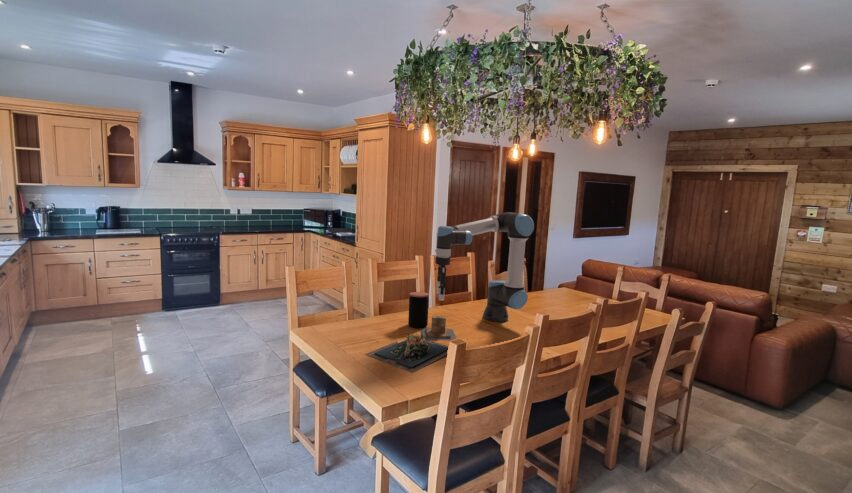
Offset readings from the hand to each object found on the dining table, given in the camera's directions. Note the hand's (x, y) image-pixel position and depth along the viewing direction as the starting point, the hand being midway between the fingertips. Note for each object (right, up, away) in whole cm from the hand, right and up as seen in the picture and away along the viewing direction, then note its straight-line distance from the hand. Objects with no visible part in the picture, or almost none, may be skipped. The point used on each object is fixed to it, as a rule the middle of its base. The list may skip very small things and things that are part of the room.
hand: (440, 296), depth 229 cm
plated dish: (-14, -23, -23) cm, 35 cm away
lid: (-1, -20, +3) cm, 20 cm away
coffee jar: (-12, -18, +14) cm, 26 cm away
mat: (-1, -20, +3) cm, 21 cm away
